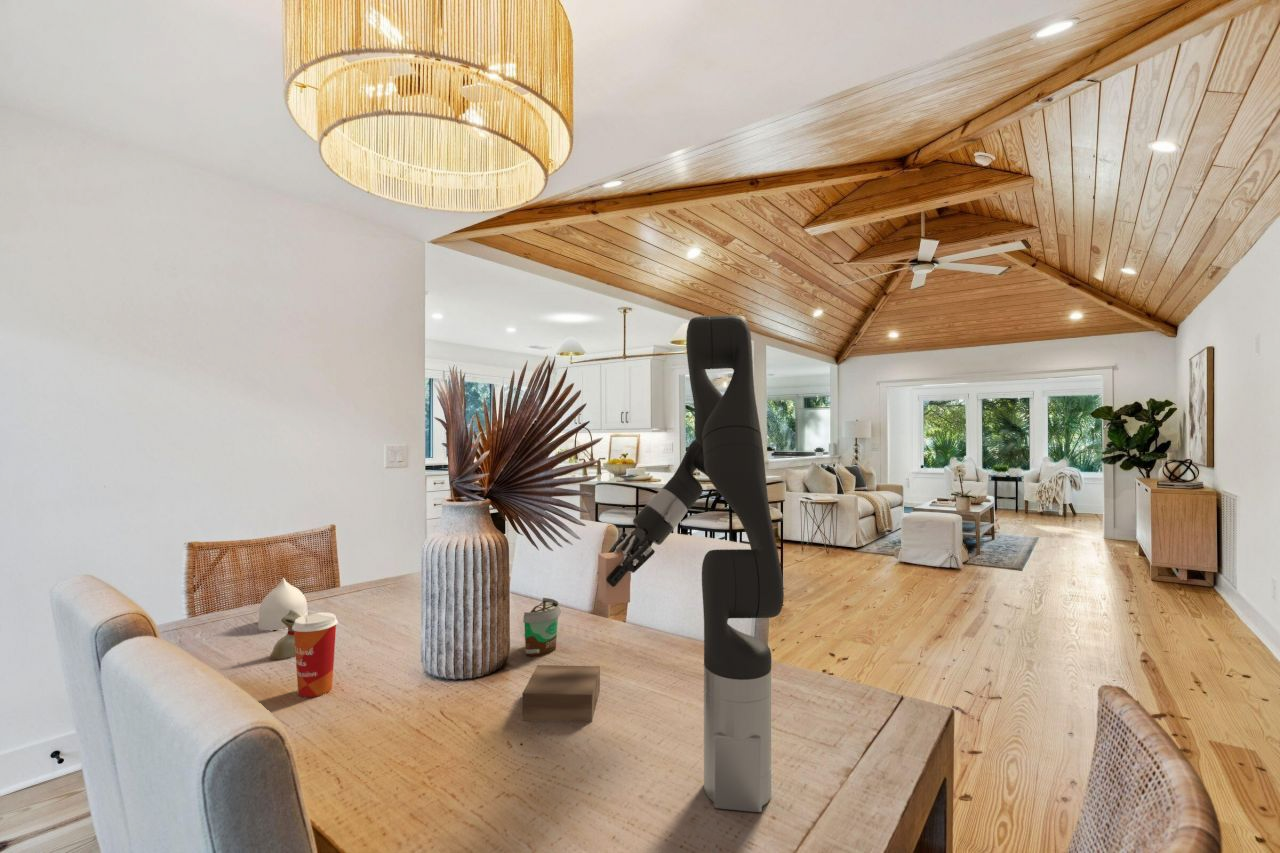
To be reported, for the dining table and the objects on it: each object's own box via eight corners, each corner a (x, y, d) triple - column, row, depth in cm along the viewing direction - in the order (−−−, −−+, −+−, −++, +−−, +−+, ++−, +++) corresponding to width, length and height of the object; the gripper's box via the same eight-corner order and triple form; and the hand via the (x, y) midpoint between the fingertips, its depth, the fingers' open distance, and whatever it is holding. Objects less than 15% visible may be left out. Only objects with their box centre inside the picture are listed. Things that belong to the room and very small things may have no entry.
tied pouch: (310, 656, 131) (310, 610, 131) (268, 661, 128) (268, 614, 128) (313, 647, 136) (313, 603, 136) (273, 652, 133) (273, 607, 133)
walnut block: (592, 723, 102) (592, 694, 102) (522, 722, 102) (522, 693, 102) (599, 692, 114) (599, 666, 114) (537, 691, 114) (537, 665, 114)
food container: (550, 661, 128) (550, 614, 128) (523, 659, 129) (523, 613, 129) (568, 641, 140) (568, 598, 140) (543, 639, 141) (543, 596, 141)
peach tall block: (630, 602, 117) (629, 556, 117) (605, 605, 115) (605, 558, 115) (621, 595, 122) (621, 551, 122) (598, 598, 120) (598, 553, 120)
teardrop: (292, 631, 147) (292, 582, 147) (247, 631, 147) (247, 582, 147) (316, 617, 158) (316, 571, 158) (275, 616, 158) (275, 571, 158)
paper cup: (286, 691, 113) (286, 618, 113) (329, 679, 119) (329, 609, 119) (300, 705, 108) (300, 627, 108) (344, 691, 113) (344, 617, 113)
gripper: (636, 500, 128) (582, 560, 124) (662, 508, 115) (603, 576, 110) (658, 523, 130) (606, 583, 126) (687, 534, 117) (630, 602, 112)
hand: (605, 580), depth 118 cm, fingers closed on peach tall block, 5 cm apart
